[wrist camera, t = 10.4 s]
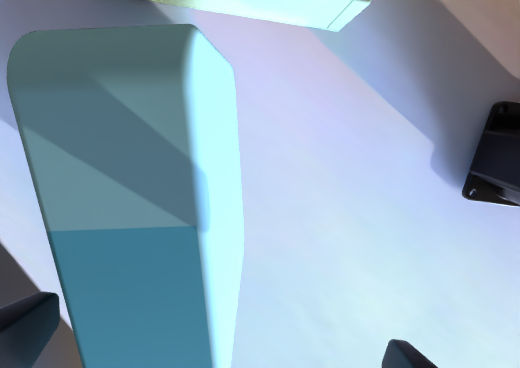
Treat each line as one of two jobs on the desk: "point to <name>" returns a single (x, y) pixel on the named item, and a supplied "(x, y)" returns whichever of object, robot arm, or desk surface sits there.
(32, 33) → the data package
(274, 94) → the desk surface
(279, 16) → the open green box
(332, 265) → the desk surface
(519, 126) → the robot arm
